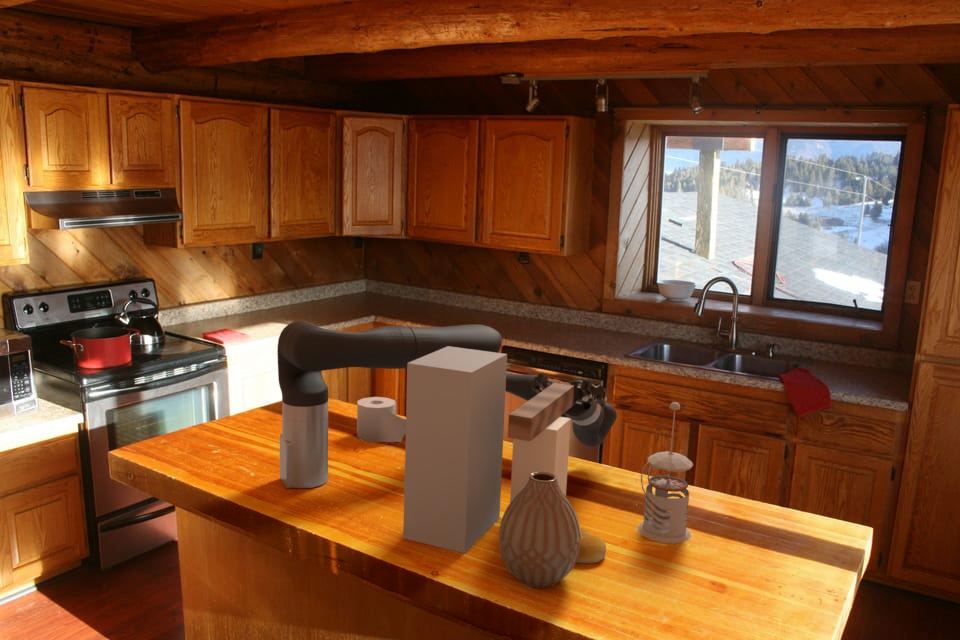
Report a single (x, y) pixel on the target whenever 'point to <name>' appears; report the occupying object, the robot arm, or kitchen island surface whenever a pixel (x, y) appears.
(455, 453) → the tall white pillar
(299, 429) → the robot arm
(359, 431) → the toilet tissue
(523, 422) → the walnut bar
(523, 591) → the kitchen island surface
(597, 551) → the bread roll
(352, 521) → the kitchen island surface
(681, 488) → the french press
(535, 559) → the vase
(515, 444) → the post
